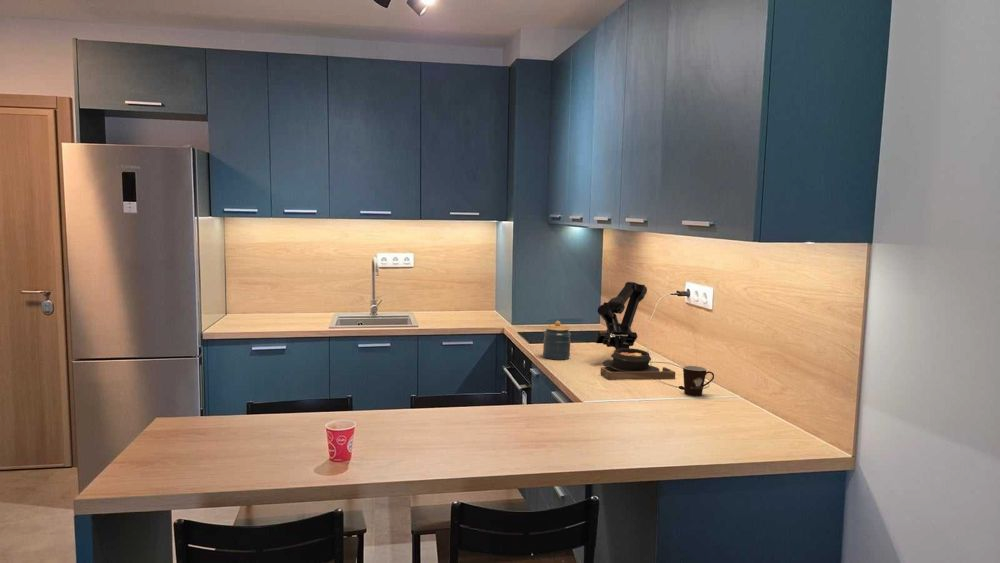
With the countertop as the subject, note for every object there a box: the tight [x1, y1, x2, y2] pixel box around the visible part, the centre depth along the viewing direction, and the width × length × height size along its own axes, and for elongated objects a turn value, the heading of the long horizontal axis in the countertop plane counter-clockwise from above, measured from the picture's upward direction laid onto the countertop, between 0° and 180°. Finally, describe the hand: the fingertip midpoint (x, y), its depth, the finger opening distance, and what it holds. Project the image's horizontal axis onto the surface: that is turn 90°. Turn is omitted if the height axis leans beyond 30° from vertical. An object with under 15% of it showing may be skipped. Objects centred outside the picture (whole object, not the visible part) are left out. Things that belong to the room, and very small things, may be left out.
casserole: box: [601, 347, 660, 372], centre depth 281 cm, size 25×19×8 cm
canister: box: [542, 320, 572, 361], centre depth 306 cm, size 13×13×18 cm
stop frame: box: [599, 366, 676, 381], centre depth 272 cm, size 9×30×3 cm, turn 103°
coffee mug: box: [682, 365, 715, 397], centre depth 246 cm, size 12×9×10 cm
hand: (620, 353), depth 289 cm, fingers closed
